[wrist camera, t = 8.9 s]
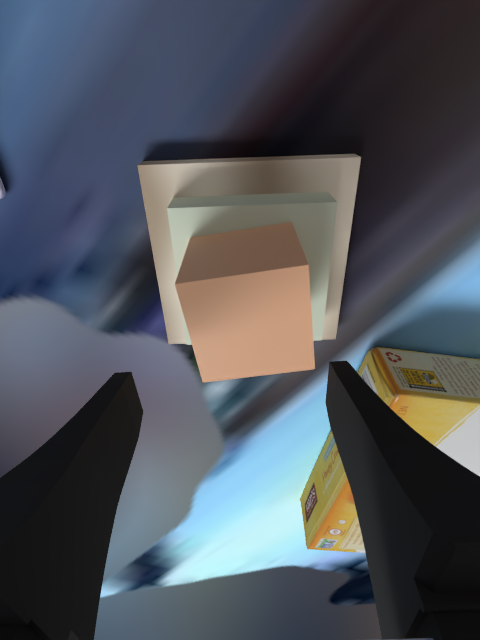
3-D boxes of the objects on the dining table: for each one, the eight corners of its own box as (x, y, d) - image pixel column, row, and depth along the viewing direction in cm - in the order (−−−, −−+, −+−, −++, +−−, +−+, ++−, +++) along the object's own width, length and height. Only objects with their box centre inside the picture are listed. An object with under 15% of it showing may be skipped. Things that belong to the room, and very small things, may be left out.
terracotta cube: (210, 321, 20) (203, 382, 16) (190, 237, 18) (174, 284, 13) (299, 309, 20) (314, 369, 16) (291, 221, 17) (308, 264, 13)
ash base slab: (173, 327, 25) (168, 343, 24) (146, 158, 19) (137, 165, 18) (328, 322, 25) (335, 339, 23) (350, 151, 19) (361, 157, 17)
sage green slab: (190, 325, 23) (186, 344, 21) (173, 197, 18) (167, 208, 17) (315, 321, 23) (321, 340, 21) (328, 191, 18) (337, 201, 17)
